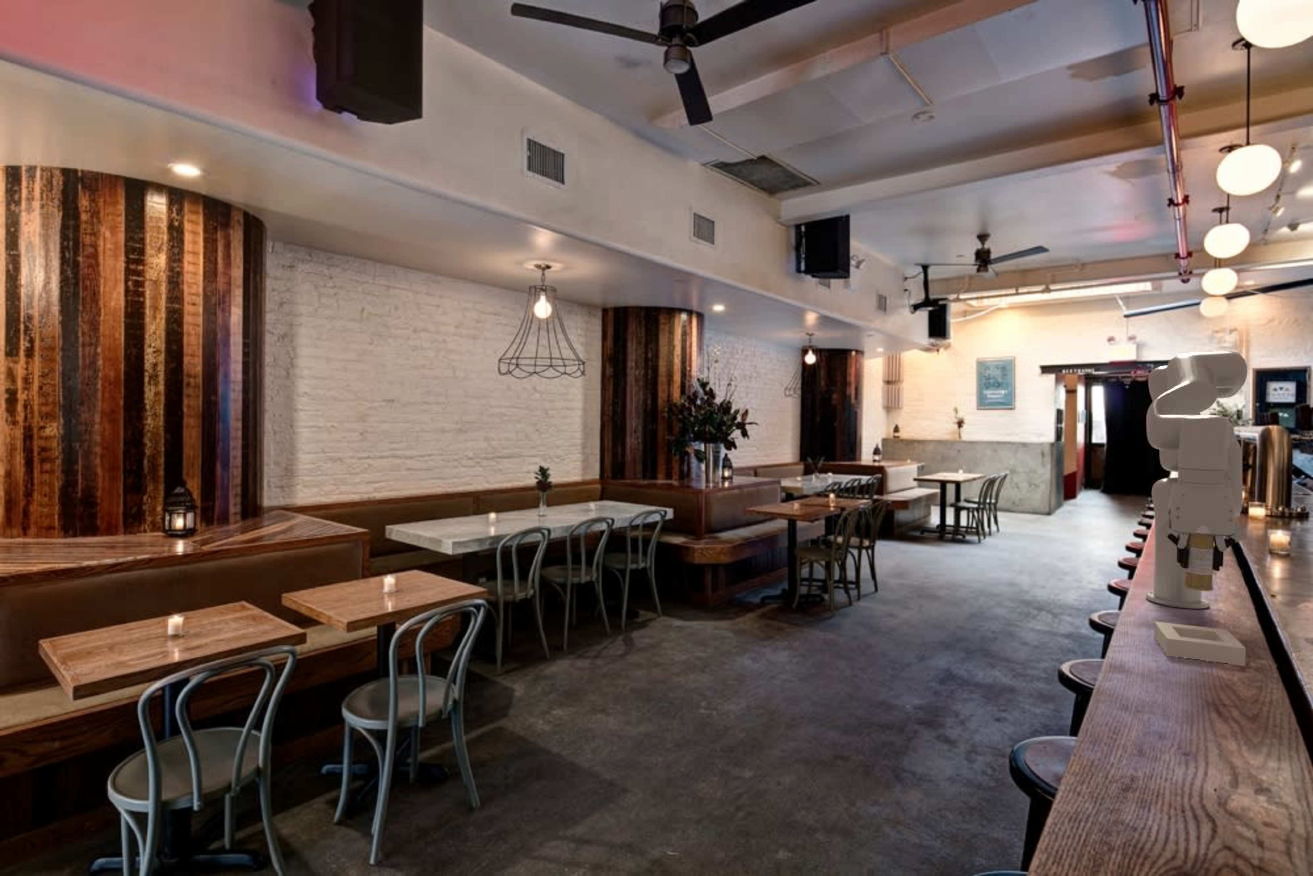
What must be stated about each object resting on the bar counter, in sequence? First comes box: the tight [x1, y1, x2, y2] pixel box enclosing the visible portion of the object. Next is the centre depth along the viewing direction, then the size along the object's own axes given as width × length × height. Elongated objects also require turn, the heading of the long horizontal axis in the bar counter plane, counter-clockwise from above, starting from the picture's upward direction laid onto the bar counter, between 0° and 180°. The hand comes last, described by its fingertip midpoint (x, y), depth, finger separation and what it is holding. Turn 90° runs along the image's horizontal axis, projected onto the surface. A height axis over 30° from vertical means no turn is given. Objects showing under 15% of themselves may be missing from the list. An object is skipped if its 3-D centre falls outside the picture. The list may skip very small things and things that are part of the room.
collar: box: [1153, 621, 1247, 667], centre depth 134 cm, size 12×12×4 cm
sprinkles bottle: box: [1185, 526, 1214, 592], centre depth 133 cm, size 5×5×13 cm
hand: (1199, 567), depth 133 cm, fingers closed on sprinkles bottle, 4 cm apart
